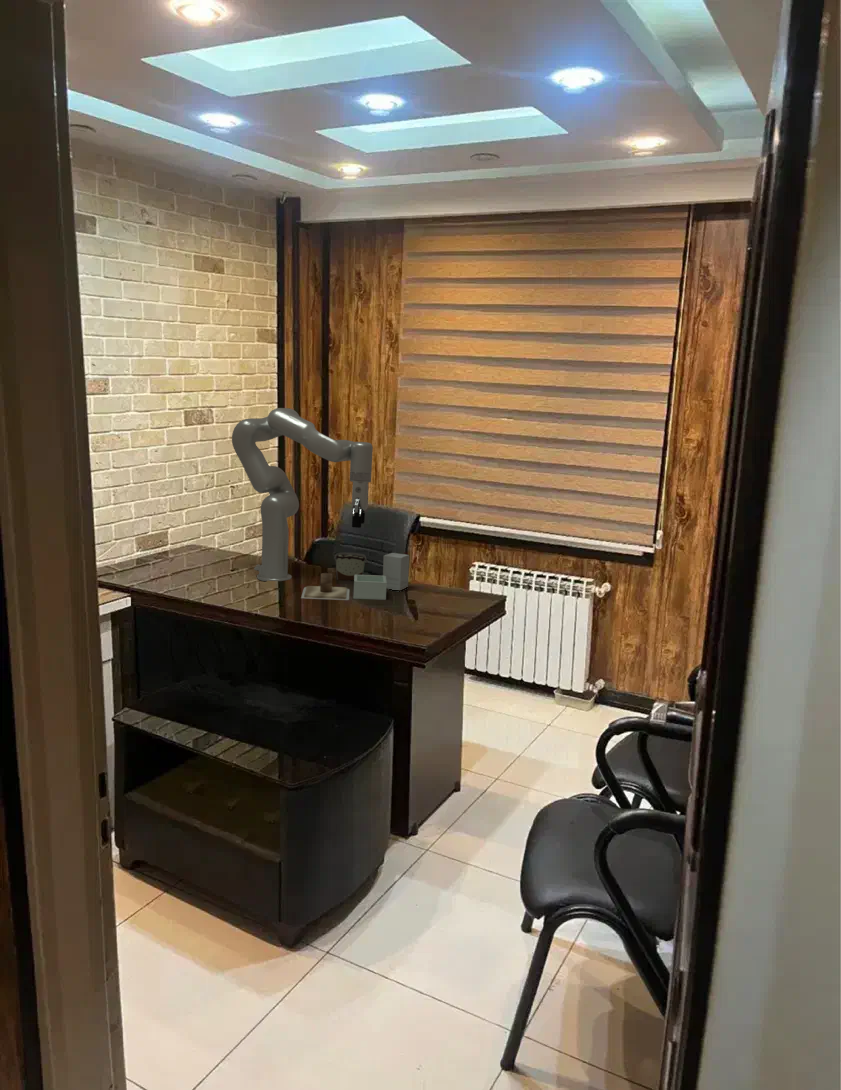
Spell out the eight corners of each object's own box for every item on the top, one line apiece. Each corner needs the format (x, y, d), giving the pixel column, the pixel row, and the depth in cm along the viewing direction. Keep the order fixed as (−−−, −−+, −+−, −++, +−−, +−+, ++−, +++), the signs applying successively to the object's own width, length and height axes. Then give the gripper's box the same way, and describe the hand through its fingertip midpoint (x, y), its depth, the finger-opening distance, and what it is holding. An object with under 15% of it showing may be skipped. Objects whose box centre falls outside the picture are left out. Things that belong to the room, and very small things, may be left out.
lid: (304, 597, 275) (304, 577, 274) (306, 588, 289) (307, 569, 288) (345, 599, 276) (346, 579, 275) (346, 589, 290) (347, 570, 289)
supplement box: (408, 588, 300) (410, 554, 298) (399, 592, 293) (401, 557, 291) (390, 585, 303) (392, 552, 301) (381, 589, 296) (383, 555, 294)
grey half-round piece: (368, 579, 311) (369, 553, 309) (365, 583, 305) (366, 556, 303) (336, 577, 312) (337, 551, 310) (333, 580, 306) (334, 554, 304)
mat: (300, 599, 274) (301, 598, 274) (304, 588, 290) (304, 587, 290) (348, 601, 275) (348, 599, 275) (349, 590, 291) (349, 589, 291)
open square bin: (353, 600, 278) (354, 581, 277) (353, 592, 289) (354, 574, 288) (385, 601, 279) (386, 582, 278) (384, 593, 290) (385, 575, 288)
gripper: (368, 480, 279) (365, 529, 282) (373, 475, 296) (371, 522, 299) (346, 478, 279) (344, 528, 282) (353, 474, 296) (350, 521, 299)
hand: (358, 525), depth 290 cm, fingers open, 9 cm apart
